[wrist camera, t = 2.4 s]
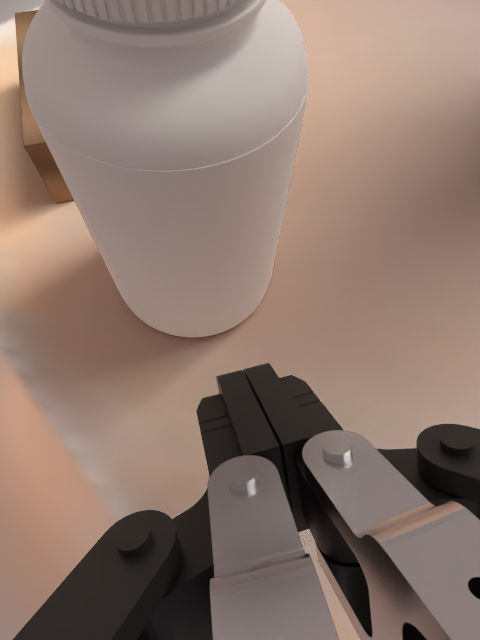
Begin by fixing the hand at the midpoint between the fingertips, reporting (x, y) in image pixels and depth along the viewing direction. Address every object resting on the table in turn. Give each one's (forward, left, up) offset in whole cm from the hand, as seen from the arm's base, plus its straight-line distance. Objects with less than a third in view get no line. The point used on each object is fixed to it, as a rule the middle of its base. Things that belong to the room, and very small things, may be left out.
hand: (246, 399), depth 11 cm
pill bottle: (-6, -7, -7) cm, 11 cm away
